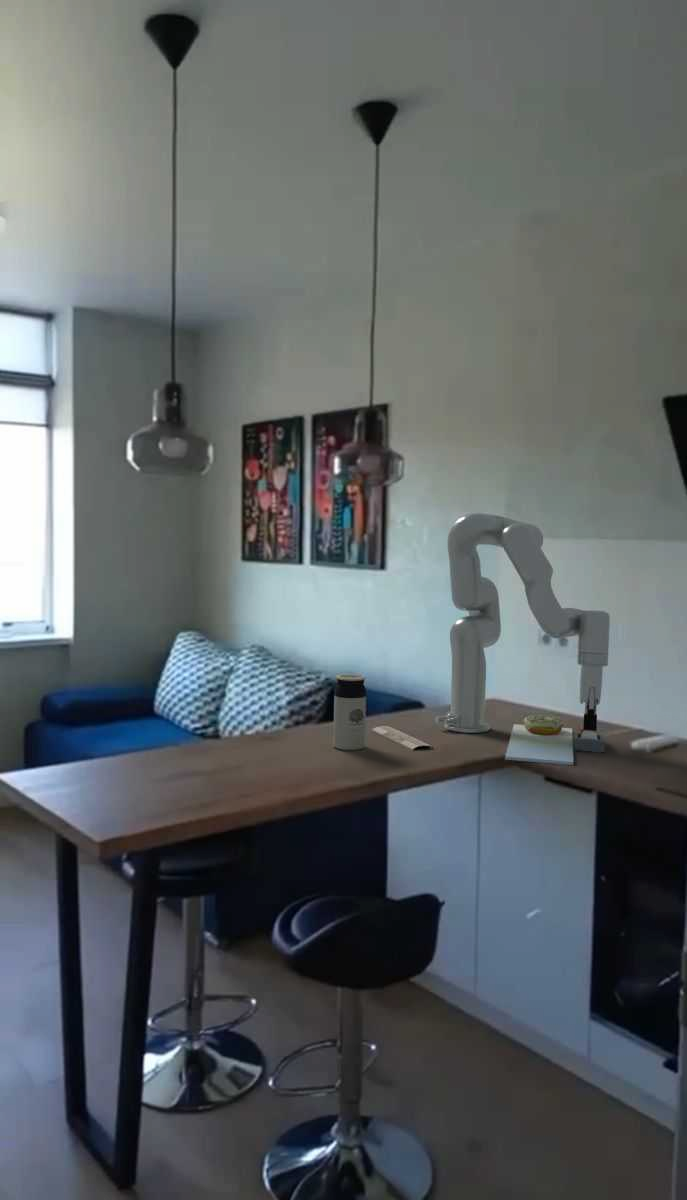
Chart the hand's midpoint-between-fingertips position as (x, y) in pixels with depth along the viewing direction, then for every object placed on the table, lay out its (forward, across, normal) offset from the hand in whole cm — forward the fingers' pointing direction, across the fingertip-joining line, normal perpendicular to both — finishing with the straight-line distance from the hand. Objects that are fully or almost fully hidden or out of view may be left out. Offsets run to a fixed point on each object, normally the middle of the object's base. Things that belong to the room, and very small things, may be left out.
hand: (589, 729), depth 231 cm
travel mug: (+5, +20, -59) cm, 62 cm away
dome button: (+4, 0, 0) cm, 4 cm away
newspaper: (+6, +7, -48) cm, 49 cm away
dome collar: (+5, 0, 0) cm, 5 cm away
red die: (+5, -7, 0) cm, 9 cm away
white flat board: (+5, 0, -12) cm, 13 cm away
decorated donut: (+4, -13, -12) cm, 18 cm away
